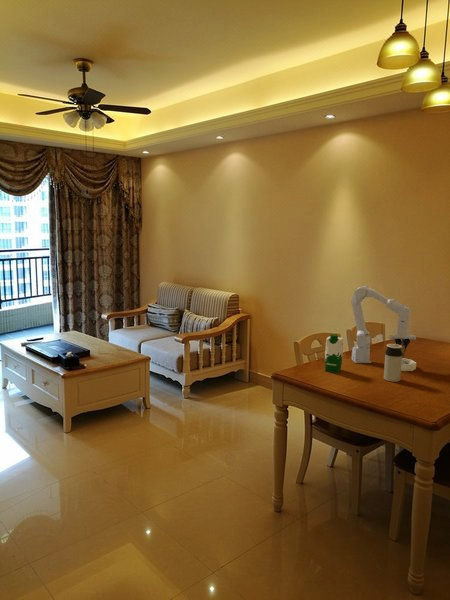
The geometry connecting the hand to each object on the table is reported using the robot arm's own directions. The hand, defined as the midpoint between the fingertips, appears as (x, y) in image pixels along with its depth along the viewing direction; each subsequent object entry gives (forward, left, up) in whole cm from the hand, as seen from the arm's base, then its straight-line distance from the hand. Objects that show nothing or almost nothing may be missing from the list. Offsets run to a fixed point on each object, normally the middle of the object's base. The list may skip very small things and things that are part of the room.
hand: (401, 351), depth 260 cm
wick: (0, 0, -3) cm, 3 cm away
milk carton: (-40, -6, -9) cm, 42 cm away
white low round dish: (+1, 0, -9) cm, 9 cm away
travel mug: (-14, -22, -9) cm, 27 cm away
